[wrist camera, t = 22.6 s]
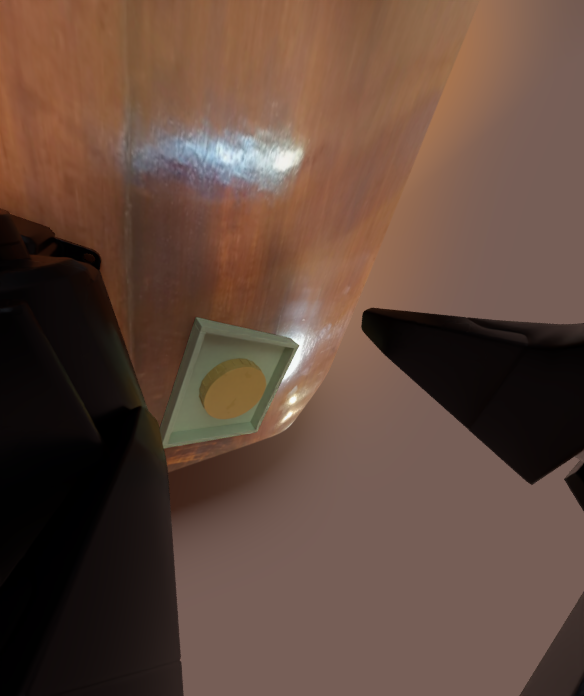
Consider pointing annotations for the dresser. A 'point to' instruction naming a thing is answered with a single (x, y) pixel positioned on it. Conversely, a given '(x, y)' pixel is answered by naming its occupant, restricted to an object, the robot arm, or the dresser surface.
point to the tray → (199, 359)
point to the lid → (232, 388)
